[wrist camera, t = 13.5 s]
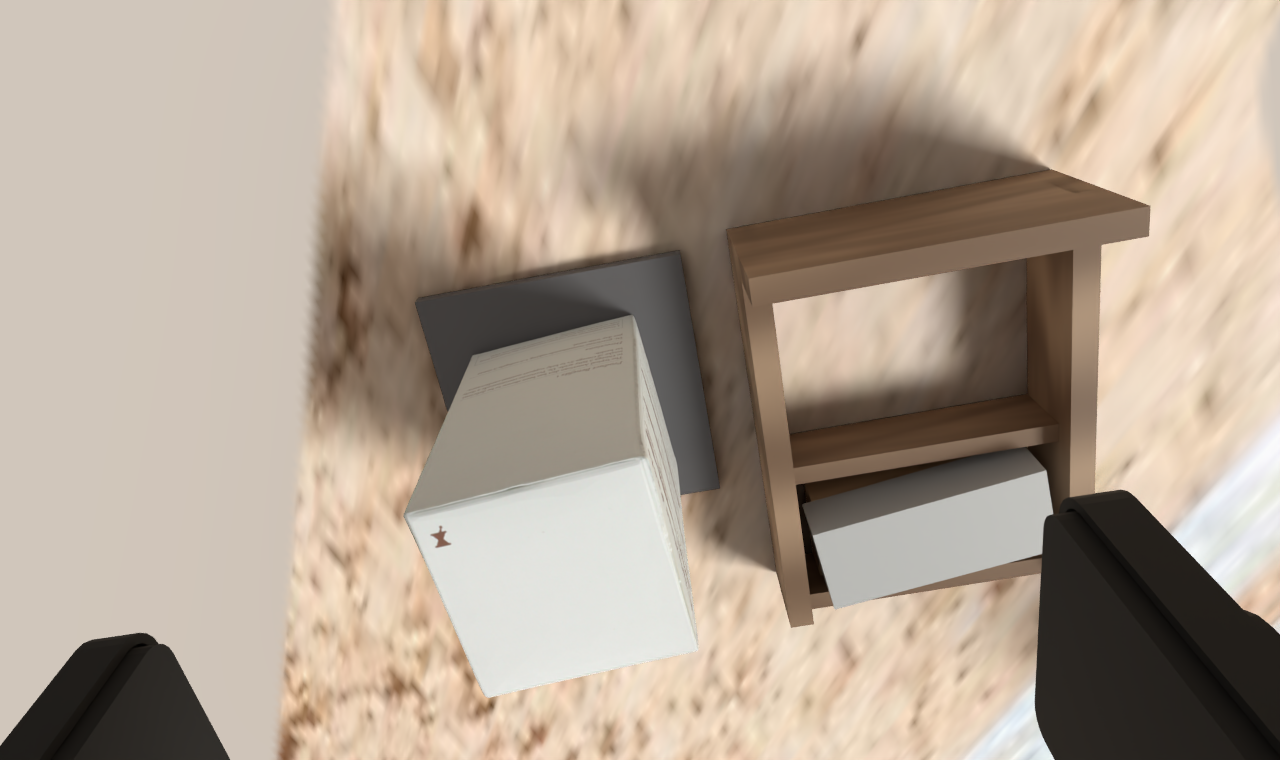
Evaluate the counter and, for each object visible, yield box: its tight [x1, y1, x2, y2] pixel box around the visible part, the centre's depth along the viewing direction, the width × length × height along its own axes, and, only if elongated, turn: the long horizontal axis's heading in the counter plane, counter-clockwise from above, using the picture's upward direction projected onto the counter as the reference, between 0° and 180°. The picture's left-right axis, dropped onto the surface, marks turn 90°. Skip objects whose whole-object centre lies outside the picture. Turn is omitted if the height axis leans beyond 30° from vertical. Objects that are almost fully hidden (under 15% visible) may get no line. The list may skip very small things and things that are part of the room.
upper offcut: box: [802, 447, 1053, 609], centre depth 37 cm, size 4×10×2 cm, turn 108°
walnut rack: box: [726, 169, 1150, 628], centre depth 35 cm, size 17×13×7 cm
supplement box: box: [404, 315, 699, 698], centre depth 31 cm, size 7×7×13 cm
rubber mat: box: [415, 250, 720, 495], centre depth 37 cm, size 11×11×1 cm
